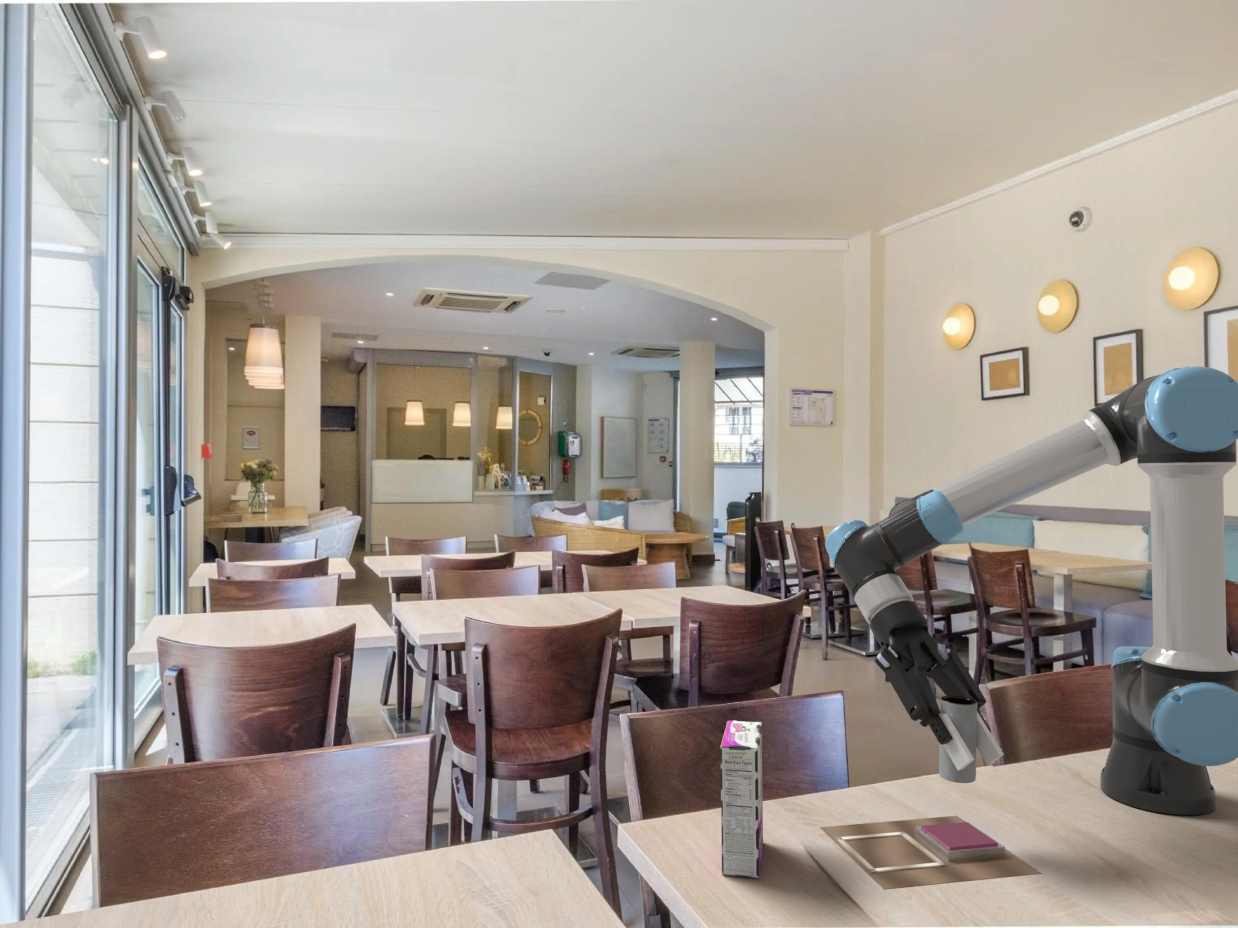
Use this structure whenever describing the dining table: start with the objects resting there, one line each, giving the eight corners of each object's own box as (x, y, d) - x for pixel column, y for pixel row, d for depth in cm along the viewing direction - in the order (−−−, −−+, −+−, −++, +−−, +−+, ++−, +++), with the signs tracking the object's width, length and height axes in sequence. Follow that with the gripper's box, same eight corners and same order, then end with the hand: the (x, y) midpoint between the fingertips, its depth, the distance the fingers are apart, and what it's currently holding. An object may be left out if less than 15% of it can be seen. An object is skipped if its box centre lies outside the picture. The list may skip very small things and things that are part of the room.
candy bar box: (726, 838, 118) (726, 718, 118) (763, 842, 117) (763, 721, 117) (719, 876, 107) (719, 744, 107) (759, 880, 106) (759, 746, 106)
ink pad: (968, 830, 118) (968, 819, 118) (1004, 856, 110) (1004, 844, 110) (914, 835, 117) (914, 824, 117) (948, 861, 109) (948, 849, 109)
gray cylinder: (978, 785, 112) (980, 705, 112) (941, 781, 112) (943, 702, 112) (972, 772, 116) (973, 696, 116) (936, 769, 117) (938, 693, 117)
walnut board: (956, 822, 123) (956, 814, 123) (1041, 881, 106) (1041, 871, 106) (819, 834, 119) (819, 825, 119) (884, 897, 102) (883, 886, 102)
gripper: (922, 624, 132) (1011, 767, 117) (831, 631, 124) (913, 785, 109) (950, 594, 127) (1046, 739, 112) (857, 600, 120) (946, 756, 105)
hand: (980, 761), depth 111 cm, fingers closed on gray cylinder, 4 cm apart
